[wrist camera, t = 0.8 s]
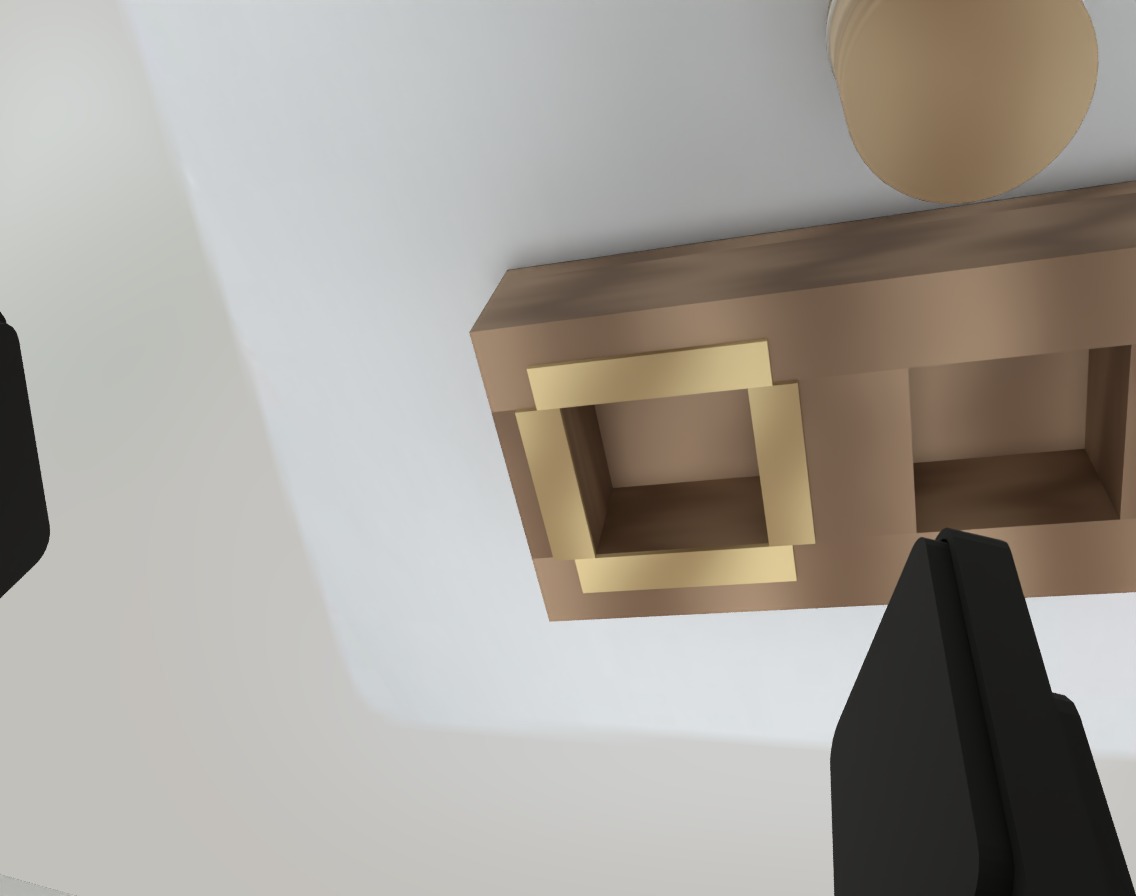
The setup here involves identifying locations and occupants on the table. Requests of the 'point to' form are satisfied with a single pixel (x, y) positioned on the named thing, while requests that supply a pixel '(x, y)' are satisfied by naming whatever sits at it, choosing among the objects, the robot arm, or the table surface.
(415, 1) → the table surface
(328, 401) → the table surface
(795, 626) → the table surface
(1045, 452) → the board
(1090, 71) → the peg
